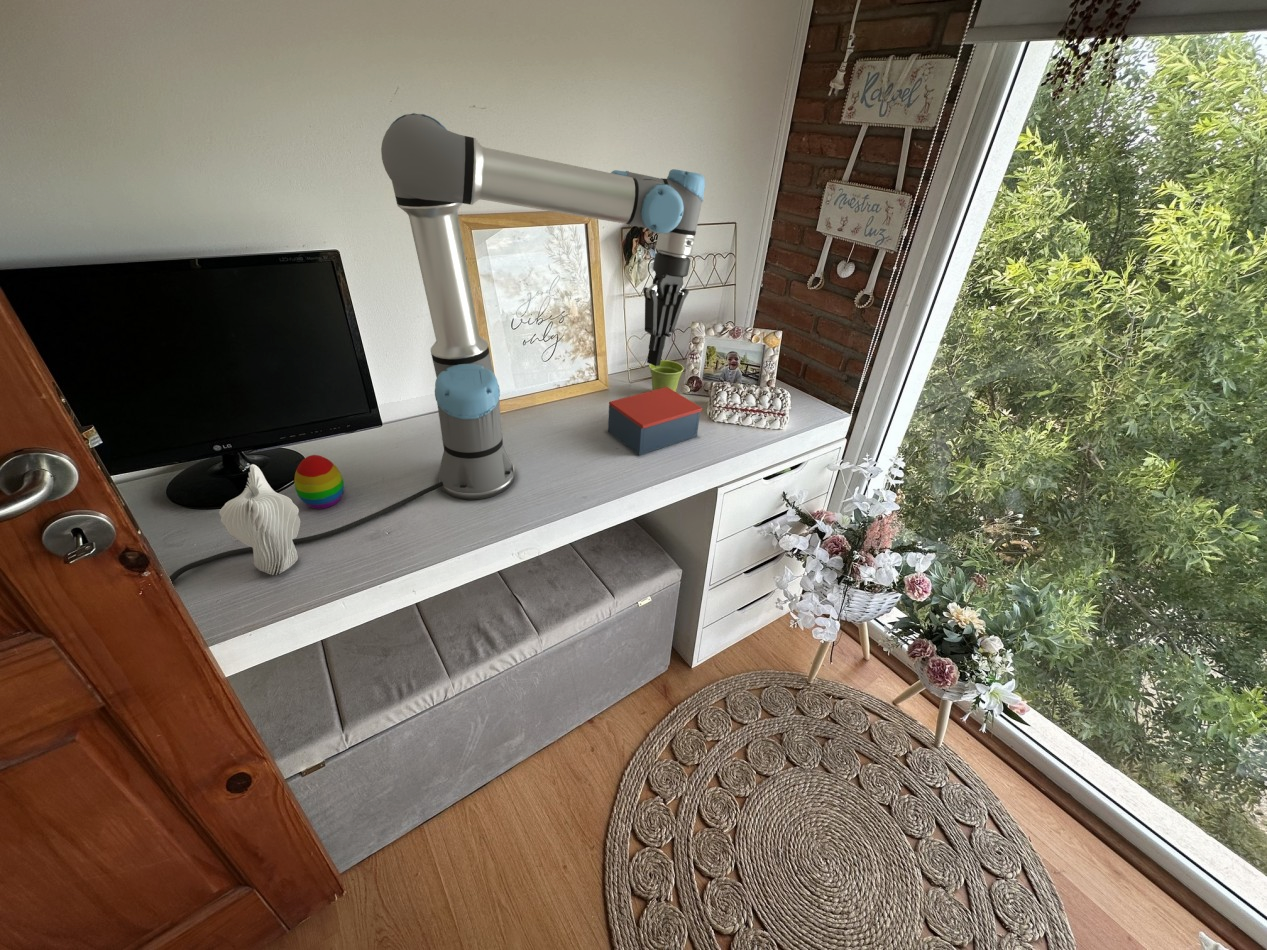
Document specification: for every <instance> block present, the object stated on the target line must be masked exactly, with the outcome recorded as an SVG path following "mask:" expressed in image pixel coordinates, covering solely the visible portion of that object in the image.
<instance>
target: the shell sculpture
mask: <svg viewBox="0 0 1267 950" xmlns="http://www.w3.org/2000/svg"><path fill="white" fill-rule="evenodd" d="M247 474H248V477H247V481H246V485H245V488H244V490H243V491H242V492H241V493H240V494H239V495H238V496H236V497H234V498H232V499H230V500H228V501H227V502H225V503H224V505H223V506H222V507H221V509H220V510H219V511H218V514H219V516H220V517H221V518H220V523H221V524H222V525H223V527H225V529H226V531H227V533H228V534H229V535H231V536H232V537H233V538H234V539H236V540H238V541H239V542H241V543H242V544H244V545H246V546H247V547H252V548H253V552H252V553H253V554H252V555H253V564H254V567H255V568H256V569H257V570H258V571H260V572H263V573H266V574H267V575H270V576H271V575H272V576H274V575H275V576H277V575H278V574H279V575H281V574H282V573H284V572H286V571H287V570H288V569H290V568H291V567H293V565H294V564H296V562H297V561H298V558H299V556H298V552H297V549H296V546H295V544H293V541H292V539H297V536H298V534H299V531H300V528H301V527H300V526H301V519H300V516H299V511H300V509H299V508H298V506H297V505H296V504H295V503H294V502H293V500H292V499H291V498H290V497H288V496H286V495H284V494H281V493H278V492H276V491H275V490H274V489H273V488H272V487H271V485H270V484H269V483H268V481H267V479H266V477H265V475H264V473H263V471H262V470H261V469H260V467H259V466H257V465H256V464H254V463H251V464H250V465H249V471H248V473H247Z"/></svg>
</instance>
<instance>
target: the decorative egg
mask: <svg viewBox="0 0 1267 950" xmlns="http://www.w3.org/2000/svg"><path fill="white" fill-rule="evenodd" d="M293 481H294V483H293V484H294V488H295V493H296V494H297V496H298V498H299V499H300V500H301V502H303V503H304V504H305V505H306V506H307V507H310V508H313V509H317V510H318V509H319V510H320V509H327V508H330V507H332V506H334V505H336V504H337V503H338V502H339V501H340V500H341V498H342V496H343V494H344V490H345V484H344V483H345V482H344V478H343V475H342V472H341V471H340V470H339V468H338V467H337V466H336V464H334V462H332V461H331V460H330V459H328V458H327V457H324V456H322V455H317V454H313V455H308V456H306V457H305V458H303V459H302V460H301V462H300V463H299V464H298V465H297V468H296V470H295V473H294V480H293Z"/></svg>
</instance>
